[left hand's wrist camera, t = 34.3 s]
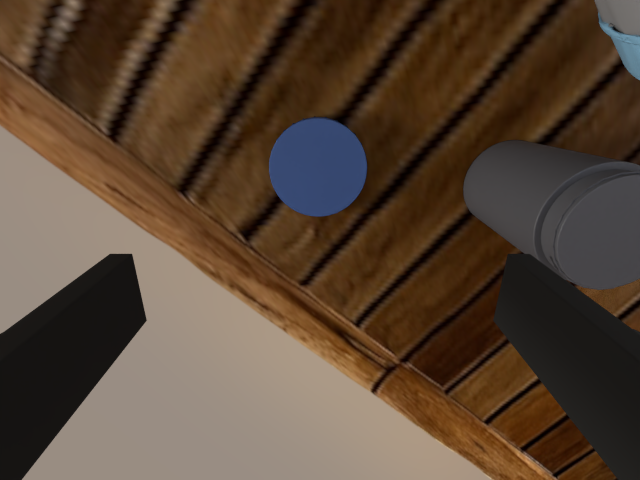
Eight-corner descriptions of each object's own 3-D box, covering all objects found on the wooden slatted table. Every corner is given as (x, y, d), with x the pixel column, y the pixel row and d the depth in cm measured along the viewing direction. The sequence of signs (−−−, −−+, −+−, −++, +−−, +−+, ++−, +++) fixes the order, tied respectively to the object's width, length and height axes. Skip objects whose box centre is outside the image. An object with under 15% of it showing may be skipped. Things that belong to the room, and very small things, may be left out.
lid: (255, 140, 36) (251, 142, 34) (344, 99, 34) (345, 100, 32) (295, 224, 39) (293, 230, 37) (377, 190, 38) (381, 195, 36)
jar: (465, 144, 36) (560, 174, 22) (555, 135, 36) (712, 159, 21) (460, 227, 39) (541, 300, 25) (543, 219, 39) (672, 289, 25)
